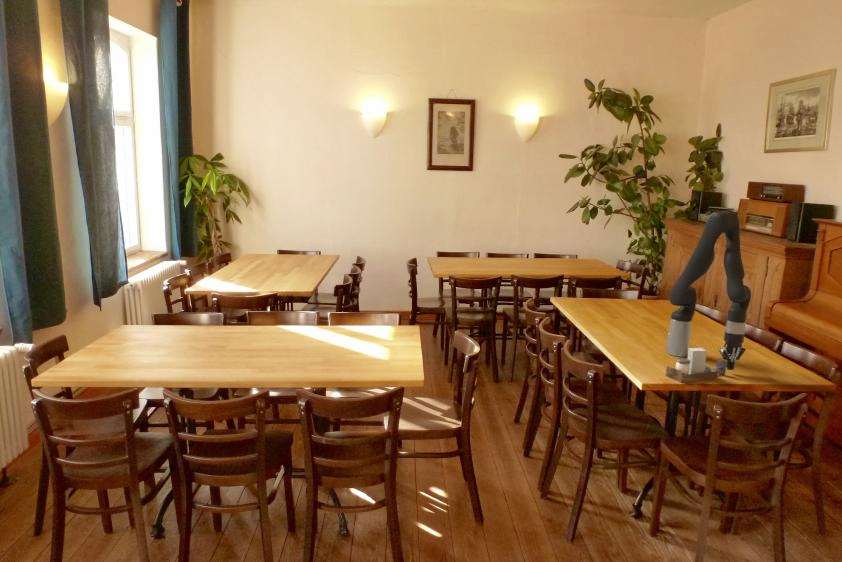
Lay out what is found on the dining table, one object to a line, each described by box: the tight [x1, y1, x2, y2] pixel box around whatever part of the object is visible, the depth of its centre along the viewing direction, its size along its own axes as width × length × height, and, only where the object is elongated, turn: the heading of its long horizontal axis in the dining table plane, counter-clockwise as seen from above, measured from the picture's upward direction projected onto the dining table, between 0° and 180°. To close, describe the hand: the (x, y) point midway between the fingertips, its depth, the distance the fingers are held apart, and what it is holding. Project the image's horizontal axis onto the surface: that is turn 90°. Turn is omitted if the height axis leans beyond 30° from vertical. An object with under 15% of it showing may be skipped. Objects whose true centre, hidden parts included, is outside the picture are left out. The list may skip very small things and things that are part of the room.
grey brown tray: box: [665, 365, 719, 384], centre depth 249 cm, size 9×19×5 cm, turn 110°
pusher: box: [705, 359, 727, 377], centre depth 253 cm, size 6×10×6 cm, turn 110°
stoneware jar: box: [675, 357, 690, 375], centre depth 247 cm, size 5×5×8 cm
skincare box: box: [687, 347, 707, 374], centre depth 249 cm, size 6×4×12 cm
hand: (730, 369), depth 256 cm, fingers closed
